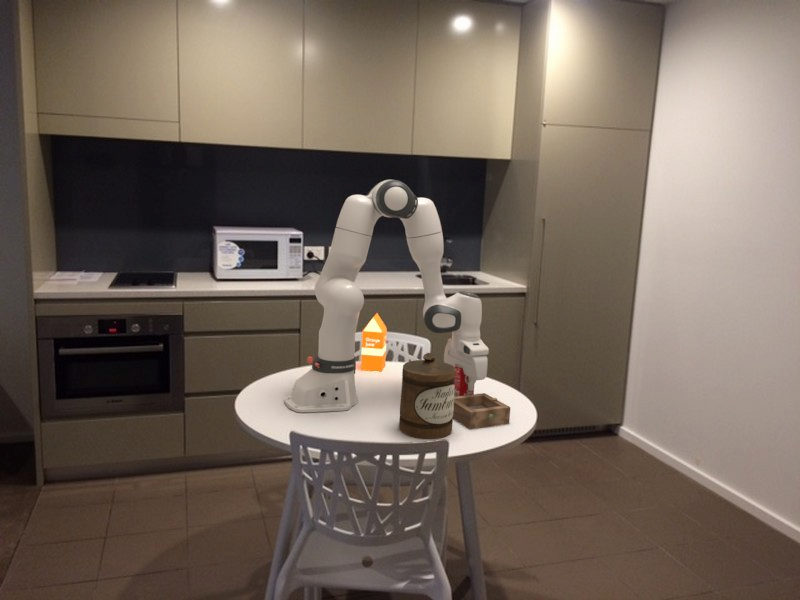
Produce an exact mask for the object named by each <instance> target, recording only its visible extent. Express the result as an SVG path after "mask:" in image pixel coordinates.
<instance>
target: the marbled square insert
mask: <svg viewBox="0 0 800 600" xmlns="http://www.w3.org/2000/svg"><path fill="white" fill-rule="evenodd" d="M469 408H471V409H472V410H475V409H482V408H486V407H485V406H483V405H478V406H470V407H469Z"/></svg>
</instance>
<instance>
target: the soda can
mask: <svg viewBox="0 0 800 600" xmlns="http://www.w3.org/2000/svg"><path fill="white" fill-rule="evenodd" d="M468 383H469V377H468V376H466V375H465V374H464V371H463V367H460V366H458V365H456V364H455V386H454V397H457V396H465V395H474V394H475V388H474V389H473V390H468V389H467V388H466V387H467V384H468Z"/></svg>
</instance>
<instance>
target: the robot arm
mask: <svg viewBox="0 0 800 600" xmlns="http://www.w3.org/2000/svg"><path fill="white" fill-rule="evenodd" d="M381 217H386V218H395V219H400V221H401V222H402V224H403V227H404V229H405V230H404V231H405V237H406V242H407V246H408V251H409V253H410V255H411V258H412V260H413V261H414V262H415V264H416V265H417V268H418V269H419V272H420V275H421V279H422V280H421V281H422V286H423V291H424V292H423V293H424V299H423V304H422V309H421V315H422V317H423V322H424V325H425V327H426V328H427V329H428V330H429V331H431V332H433V333H435V334H444V333H445V334H446V333H451V337H449V338H448V339H447V343H446V345H445V347H444V353H443V362H444V363H448V364H450V365H452V366H454V367H455V364H456V365H458V366H460V367H463V371H464V374H465V375H466V376H468V377H469V383H468V384H467V387H466V388H467V389H468V390H473V389H474V390H475V383H476V382H477V381H484V380H485V379H486V377H487V375H488V374H487V373H488V362H489V361H488V360H489V359H488V357H487V355H489V353H490V349H489V347H488V346H487V345H486V344H485V343H484V342H483V340H482V339H481V330H480V329H481V328H480V327H481V324H482V318H483V316H482V315H483V313H482V312H483V307H482V306H483V303H482V300H481V298H480V297H479V296H478V295H477V294H475V293H472V292H470V291H465V290H463V291H462V290H460V291H457V292H456V293H455V294H453V295H451V296H449V297H447V296H446V292H445V291H444V285H443V279H442V272H441V262H442V260H443V259H442V258H443V255H444V236H443V230H442V229H443V228H442V224H441V220H440V216H439V214H438V210H437V207H436V206H435V204H434V201H433V200H431V199H430V198H427V197H417V196H416V195H415V194H414V192H413V191H412V190H411V189H410V187H409V186H408V185H407V184H405V183H404V182H402V181H400V180H397V179H385V180H383V181H380V182H379V183H376V184H375V185H374V186H373V187H372V188H371V189H370V190H369V191H368V192H367V193H366V195H363V194H352V195H350V196H348V197H347V198H346V199H345V201H344V203H343V205H342V207H341V209H340V212H339V215H338V218H337V221H336V225H335V228H334V233H333V237H332V241H331V245H330V249H329V253H328V256H327V258H326V260H325V262H324V264H323V268H322V269H321V272H320V275H319V277H318V279H317V280H316V282H315V285H314V294H315V297H316V300H317V301H318V303H319V304H320V305H321V306H322V307H323V316H322V321H321V326H320V328H319V331H318V355H317V356H316V357H315V358H314V357H313V356H311V355H310V356H308V357H307V358H306V361H307V363H308V364H309V365H311V369H309V370H308V371H307V372H305V373H304V374H303V375H302V376H300V377H299V378H298V379H296V380H295V382H294V383H293V387H292V391H291V394H288V395H286V396H285V398H284V404H285V406H286V407H287V408H289V409H290V410H291V411H294V412H296V413H323V412H343V411H349V410H350V409H351V408H352V407H353V406H355V405H357V404H358V403H359V397H358V394H357V390H356V379H355V378H356V377H355V374H356V370H357V362H356V361H357V358H356V356H355V352H356V350H355V348H356V332H357V328H358V323H359V322H358V321H359V317H360V312H361V310H362V309H363V307H364V303H365V297H364V294H363V291H362V289H361V288H360V286H359V285H358V284H357V283H356V278H357V277H358V275H359V272H360V270H361V269H362V267H363V266H364V265H365V262H366V260H367V257H368V253H369V248H370V244H371V240H372V236H373V232H374V227H375V225H376V223H377V221H378V220H379V219H380V218H381Z"/></svg>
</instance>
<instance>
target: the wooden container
mask: <svg viewBox="0 0 800 600" xmlns="http://www.w3.org/2000/svg"><path fill="white" fill-rule="evenodd" d="M422 358H423V359H416V360H409V361H407V362H405V363H404V364H403V365H402V372H401V373H402V374H401V376H402V378H401V379H402V380H401V391H400V400H399V401H400V402H399V403H400V404H399V422H398V427H399V428H398V429H399V431H400V432H402V433H403V434H405V435H406V436H409V437H413V438H416V439H423V440H425V439H427V440H433V439H435V440H436V439H441V438H444V437H447V436H449V435H450V434H451V433H452V431H453V420H454V419H453V409H454V386H455V367H454V366H452V365H450V364H448V363H444V361H439V360H436V355H435V354H433V352H426V353H425V354H423V356H422Z"/></svg>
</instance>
